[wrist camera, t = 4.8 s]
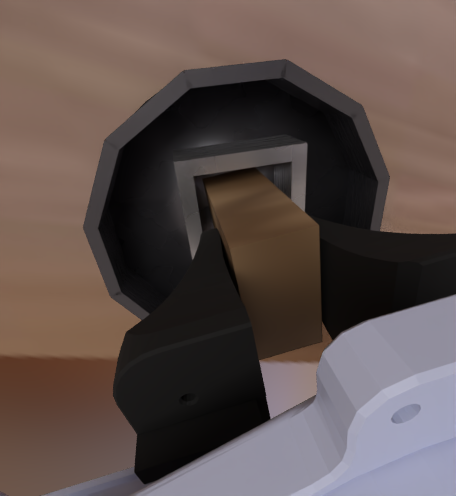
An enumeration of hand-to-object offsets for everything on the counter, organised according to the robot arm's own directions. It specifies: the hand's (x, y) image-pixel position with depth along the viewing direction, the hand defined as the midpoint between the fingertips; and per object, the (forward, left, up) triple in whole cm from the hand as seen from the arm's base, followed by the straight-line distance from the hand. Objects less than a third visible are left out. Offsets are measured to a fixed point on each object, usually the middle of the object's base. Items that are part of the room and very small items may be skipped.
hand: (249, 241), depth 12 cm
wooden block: (0, 0, -2) cm, 3 cm away
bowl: (0, 0, -3) cm, 3 cm away
